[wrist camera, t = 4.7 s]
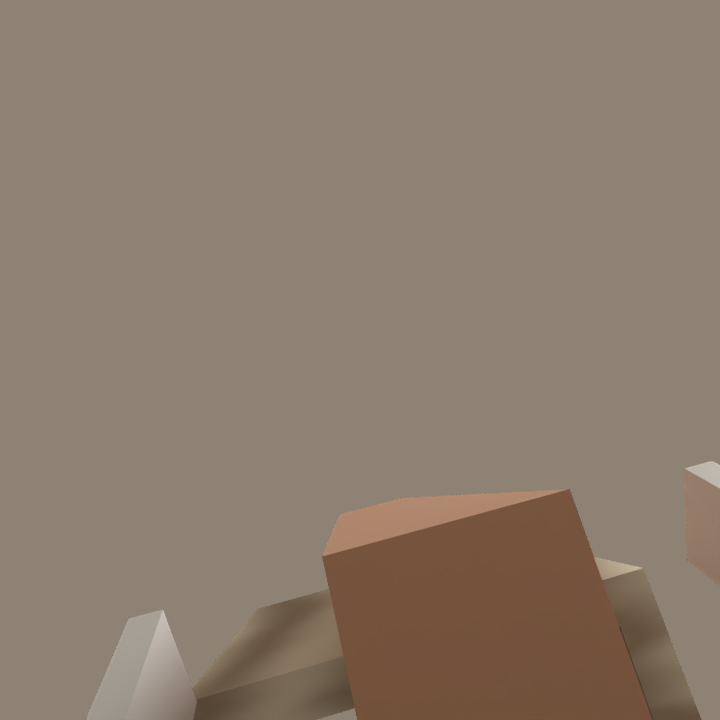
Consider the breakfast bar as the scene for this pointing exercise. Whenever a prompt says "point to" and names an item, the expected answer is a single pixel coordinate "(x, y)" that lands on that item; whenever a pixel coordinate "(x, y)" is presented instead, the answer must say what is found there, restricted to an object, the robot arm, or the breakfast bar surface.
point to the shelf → (329, 674)
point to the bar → (477, 612)
